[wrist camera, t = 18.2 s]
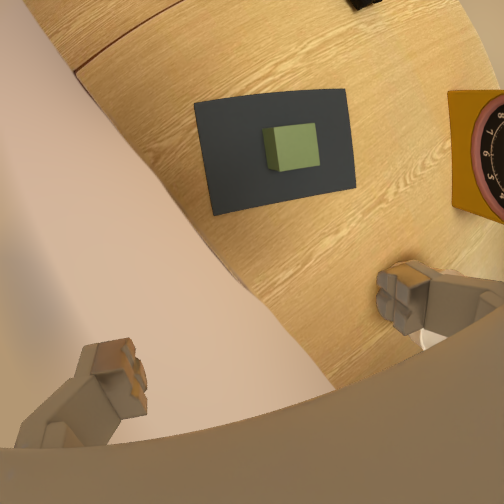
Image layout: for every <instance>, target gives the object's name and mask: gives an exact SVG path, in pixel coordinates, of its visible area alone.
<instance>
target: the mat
mask: <svg viewBox="0 0 504 504" xmlns="http://www.w3.org/2000/svg"><path fill="white" fill-rule="evenodd" d="M194 109H195V115H196V121H197V126H198V132H199V138H200V144H201V149H202V155H203V161H204V166H205V172H206V177H207V183H208V188H209V194H210V199H211V204H212V209H213V215H214V216H217V215H221V214H226V213H230V212H235V211H240V210H244V209H249V208H254V207H259V206H264V205H268V204H273V203H278V202H283V201H288V200H294V199H299V198H304V197H309V196H314V195H320V194H325V193H331V192H336V191H342V190H347V189H353V188H356V178H355V166H354V156H353V146H352V137H351V128H350V120H349V113H348V105H347V98H346V92H345V89H317V90H299V91H285V92H273V93H263V94H254V95H245V96H238V97H230V98H223V99H217V100H210V101H204V102H198V103H194ZM308 123H315V128H316V136H317V144H318V152H319V160H320V165H319V166H312V167H306V168H299V169H293V170H287V171H281V172H279V171H276V170H272V169H269V168H268V165H267V158H266V151H265V145H264V138H263V131H262V129H265V128H273V127H281V126H289V125H298V124H308Z"/></svg>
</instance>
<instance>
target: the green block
mask: <svg viewBox="0 0 504 504" xmlns="http://www.w3.org/2000/svg"><path fill="white" fill-rule="evenodd" d="M262 131H263V138H264V145H265V151H266V158H267V165H268V168H269V169H272V170H276V171H279V172H281V171H287V170H293V169H299V168H306V167H312V166H319V165H320V160H319V152H318V144H317V136H316V128H315V123H308V124H298V125H289V126H281V127H273V128H265V129H262Z"/></svg>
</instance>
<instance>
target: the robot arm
mask: <svg viewBox="0 0 504 504" xmlns="http://www.w3.org/2000/svg"><path fill="white" fill-rule="evenodd" d="M377 285H378V286H379V287H380V290H379V291H378V293H377V295H376V304H377V308H378V311H379V313H380V314H381V316H382V317H383V318H384V319H385V320H389V321H393V327H395V328H396V329H397V330H398V331H399V332H400V333H401V334H403V335H404V336H406V335H409V334H411V333H413V332H416V331H418V330H420V329H422V328H424V329H425V330H428V331H431V332H434V333H436V334H439V335H442V336H445V337H448V338H447V339H445V340H443V341H441V342H439V343H437V344H435V345H434V346H432V347H430V348H428V349H426V350H424V351H422V352H420V353H418V354H416V355H414V356H412V357H410V358H408V359H406V360H404V361H402V362H400V363H397V364H395V365H393V366H391V367H389V368H387V369H384V370H382V371H380V372H378V373H375V374H373V375H371V376H368V377H366V378H364V379H361V380H359V381H357V382H354V383H352V384H349V385H347V386H344V387H342V388H339V389H337V390H334V391H331V392H329V393H326V394H323V395H321V396H318V397H315V398H312V399H309V400H306V401H304V402H301V403H298V404H295V405H292V406H289V407H285V408H282V409H279V410H276V411H273V412H270V413H266V414H262V415H259V416H255V417H252V418H248V419H245V420H241V421H237V422H233V423H230V424H225V425H221V426H217V427H213V428H208V429H204V430H199V431H195V432H190V433H184V434H179V435H174V436H169V437H163V438H157V439H151V440H144V441H137V442H129V443H121V444H113V445H107V443H108V441H109V440H110V438H111V437H112V435H113V433H114V432H115V430H116V429H117V427H118V426H119V424H120V422H121V420H123V419H128V418H134V417H139V416H144V415H147V398H146V396H145V394H144V392H145V391H146V390H147V379H146V374H145V371H144V367H143V365H142V363H141V360H139V359H138V358H136V357H135V346H134V344H133V342H132V340H131V339H130V338H124V339H118V340H112V341H107V342H101V343H95V344H90V345H86V346H84V347H83V349H82V352H81V356H80V359H79V362H78V365H77V369H76V372H75V375H74V378H71V379H69V380H67V381H66V382H65V383H64V384H63V385H62V386H61V387H60V388H59V389H58V390H56V391H55V392H54V393H53V394H52V395H51V396H50V397H49V398H48V399H47V400H46V401H45V402H44V403H43V404H42V405H40V406H39V407H38V408H37V409H36V410H35V411H34V412H33V413H32V414H31V415H30V416H29V417H28V418H27V419H25V421H24V422H22V424H21V427H20V430H19V434H18V437H17V440H16V443H15V446H14V448H0V504H504V282H501V281H494V280H487V279H480V278H473V277H465V276H458V275H451V274H445V275H443V274H441V273H439V272H437V271H435V270H434V269H432V268H430V267H428V266H426V265H425V264H423V263H421V262H419V261H417V260H410V261H407V262H405V263H402V264H400V265H397V266H394V267H391V268H389V269H386V270H383V271H380V272H379V273H378V275H377Z"/></svg>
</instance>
